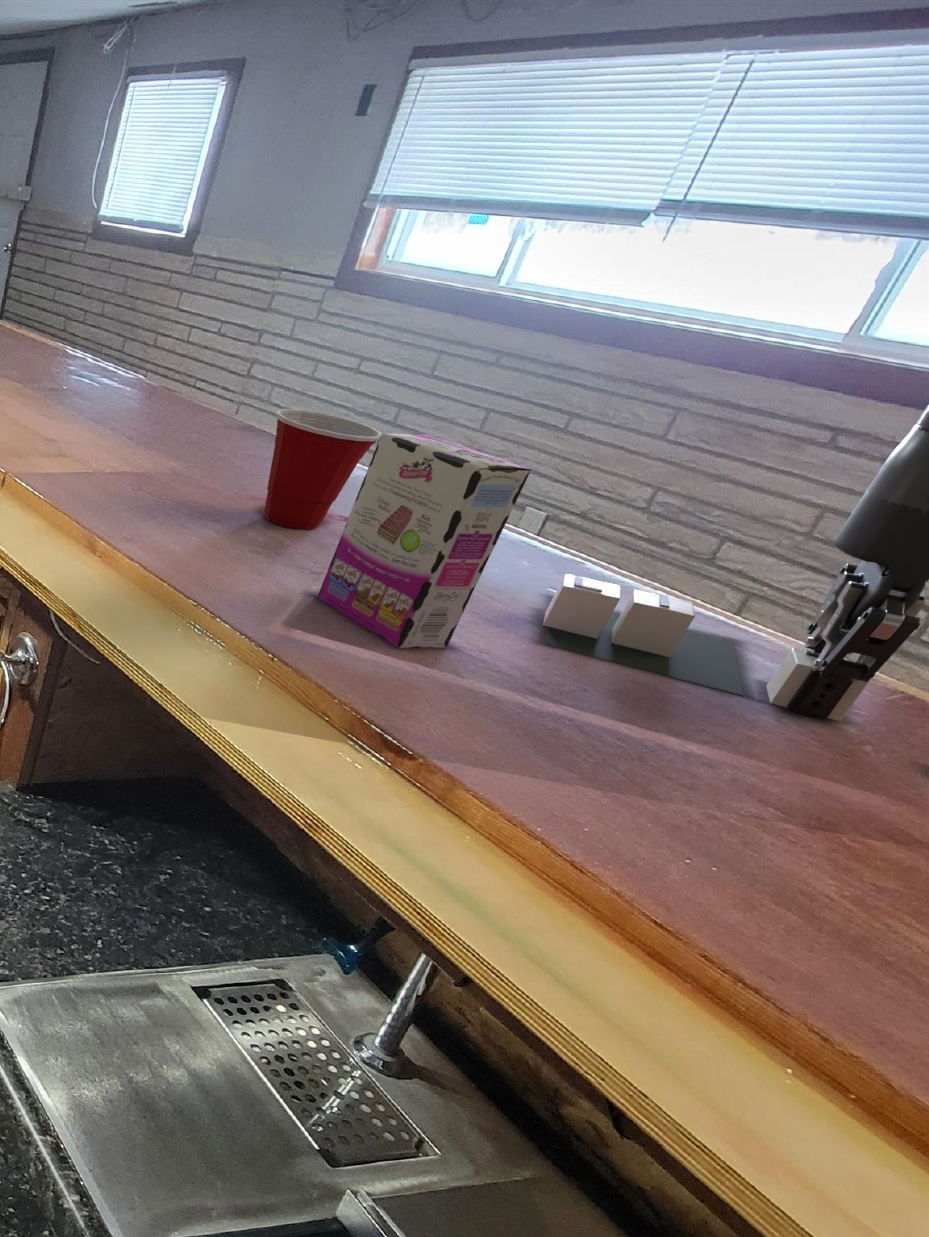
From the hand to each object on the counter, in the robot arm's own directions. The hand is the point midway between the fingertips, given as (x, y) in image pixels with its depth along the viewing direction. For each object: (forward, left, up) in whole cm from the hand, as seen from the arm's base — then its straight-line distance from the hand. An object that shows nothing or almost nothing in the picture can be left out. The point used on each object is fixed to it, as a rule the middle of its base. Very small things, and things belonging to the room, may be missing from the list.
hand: (801, 704), depth 78 cm
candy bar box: (+29, +7, -1) cm, 29 cm away
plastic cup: (+42, -20, -1) cm, 46 cm away
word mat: (+10, -5, 0) cm, 11 cm away
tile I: (+10, -5, 0) cm, 11 cm away
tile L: (+15, -5, 0) cm, 16 cm away
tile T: (0, 0, 0) cm, 0 cm away
